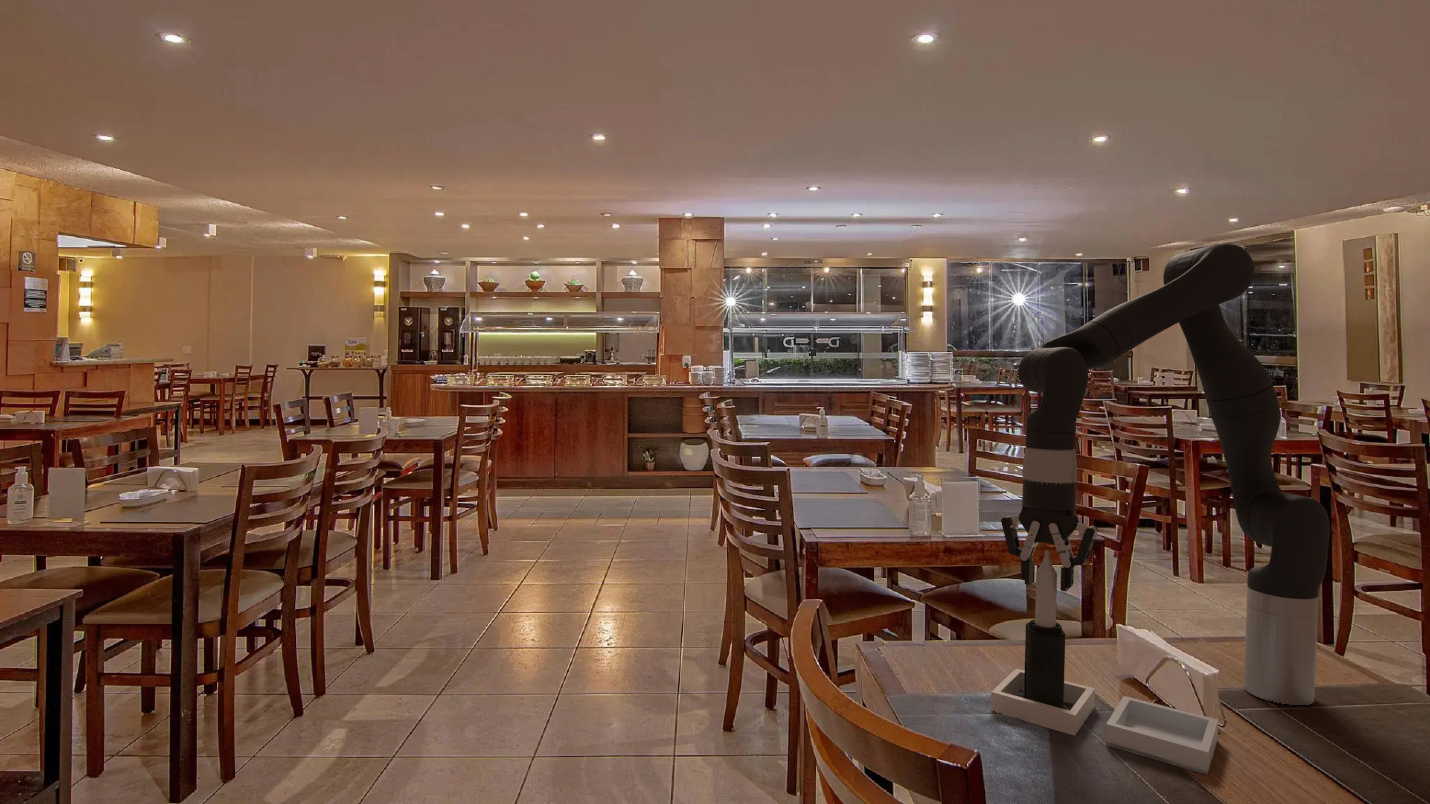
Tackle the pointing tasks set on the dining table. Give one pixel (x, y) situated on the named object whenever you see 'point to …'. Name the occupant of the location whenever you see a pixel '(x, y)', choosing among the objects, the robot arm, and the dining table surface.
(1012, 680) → the grey frame
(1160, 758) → the grey tray
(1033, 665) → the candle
